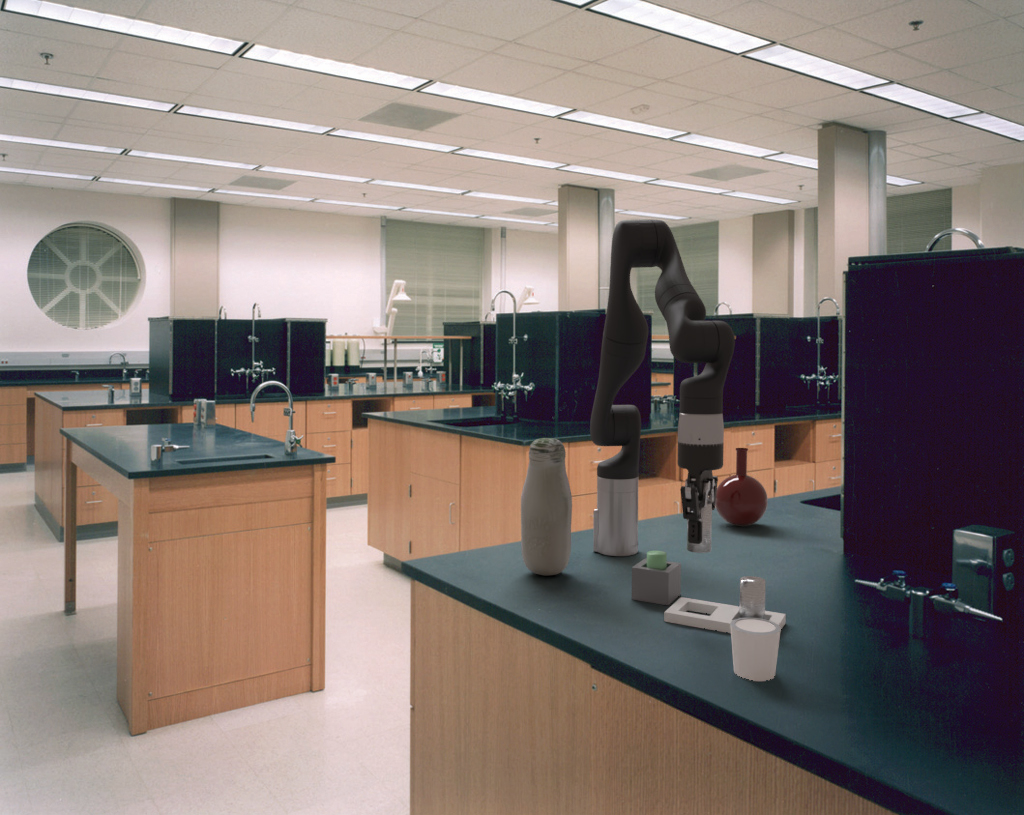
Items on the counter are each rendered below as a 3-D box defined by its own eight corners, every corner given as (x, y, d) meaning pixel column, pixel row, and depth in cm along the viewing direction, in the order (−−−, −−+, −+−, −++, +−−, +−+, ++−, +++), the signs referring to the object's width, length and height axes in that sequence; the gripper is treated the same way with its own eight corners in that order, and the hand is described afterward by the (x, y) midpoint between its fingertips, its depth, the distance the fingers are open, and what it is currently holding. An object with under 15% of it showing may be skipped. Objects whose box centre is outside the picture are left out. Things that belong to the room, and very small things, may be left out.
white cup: (722, 664, 114) (723, 617, 113) (767, 662, 115) (768, 615, 114) (739, 684, 107) (740, 635, 107) (788, 682, 108) (789, 633, 107)
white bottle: (514, 577, 156) (513, 439, 154) (534, 564, 166) (534, 434, 163) (559, 584, 152) (559, 442, 150) (578, 570, 161) (578, 436, 159)
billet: (683, 551, 131) (684, 504, 131) (691, 545, 135) (691, 500, 134) (707, 554, 129) (708, 506, 129) (713, 548, 133) (714, 502, 132)
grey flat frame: (664, 621, 131) (664, 612, 131) (680, 605, 139) (681, 597, 139) (774, 641, 122) (774, 631, 122) (785, 623, 130) (785, 614, 130)
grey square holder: (631, 599, 143) (631, 567, 142) (645, 588, 149) (645, 558, 148) (668, 605, 139) (668, 572, 139) (680, 594, 145) (681, 563, 145)
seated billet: (736, 628, 128) (737, 581, 127) (742, 621, 131) (743, 574, 131) (761, 633, 126) (762, 584, 125) (766, 625, 129) (767, 578, 129)
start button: (643, 586, 143) (644, 554, 143) (650, 581, 146) (650, 549, 146) (662, 589, 141) (662, 556, 141) (668, 583, 145) (669, 552, 144)
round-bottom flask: (706, 520, 206) (707, 445, 205) (754, 519, 208) (755, 444, 206) (725, 532, 193) (726, 452, 192) (776, 530, 195) (777, 451, 193)
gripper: (710, 446, 123) (709, 552, 124) (733, 436, 135) (732, 533, 136) (665, 443, 126) (663, 546, 128) (691, 434, 139) (690, 528, 140)
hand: (699, 539), depth 132 cm, fingers closed on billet, 4 cm apart
